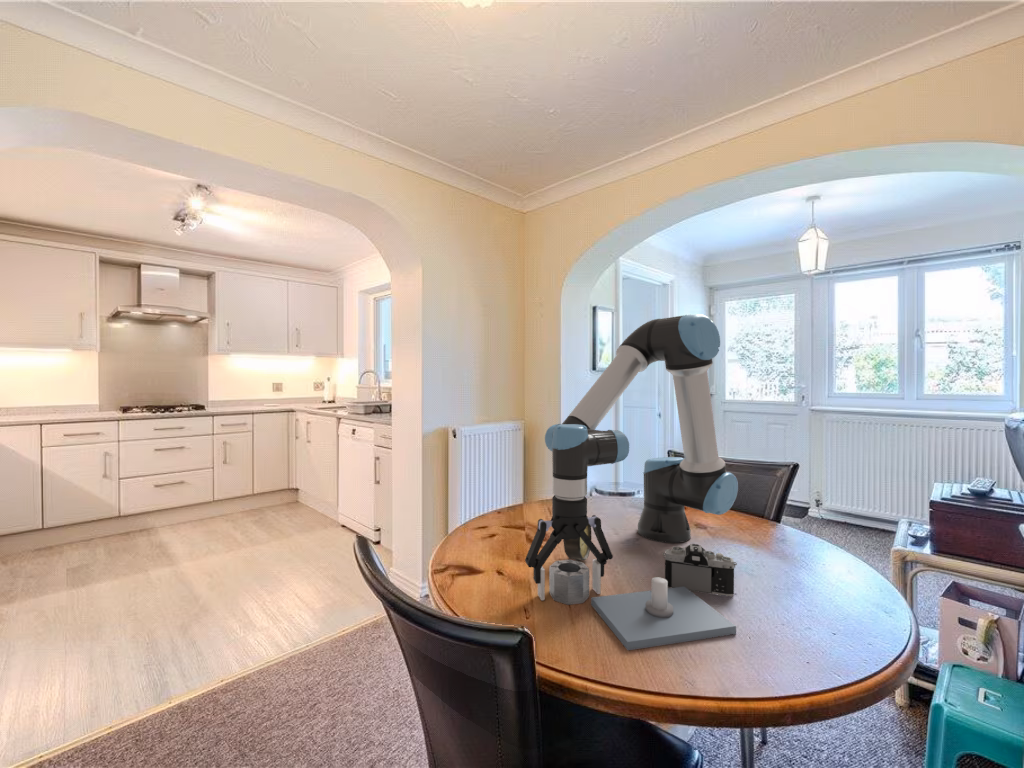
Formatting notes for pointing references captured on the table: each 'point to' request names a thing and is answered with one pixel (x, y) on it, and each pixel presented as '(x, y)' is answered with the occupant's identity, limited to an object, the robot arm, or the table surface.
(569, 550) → the alarm clock
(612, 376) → the robot arm
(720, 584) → the camera
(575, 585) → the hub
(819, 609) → the table surface
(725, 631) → the shaft block
